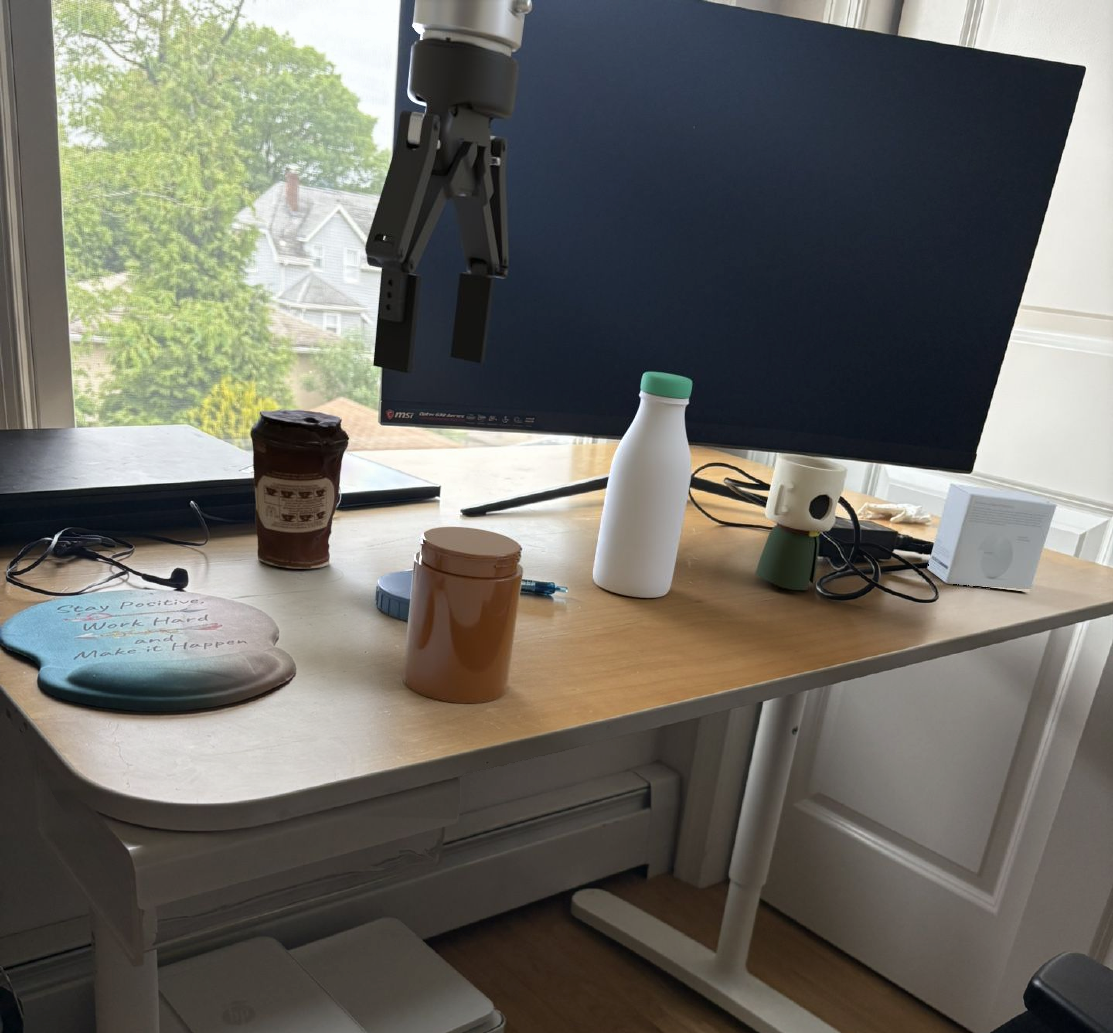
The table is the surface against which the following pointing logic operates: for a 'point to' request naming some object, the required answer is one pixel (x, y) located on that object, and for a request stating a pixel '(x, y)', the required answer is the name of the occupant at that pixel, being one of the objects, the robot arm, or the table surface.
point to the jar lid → (394, 594)
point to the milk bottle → (647, 493)
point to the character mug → (799, 518)
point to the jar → (462, 614)
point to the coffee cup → (296, 485)
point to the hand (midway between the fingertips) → (432, 364)
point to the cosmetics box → (990, 537)
